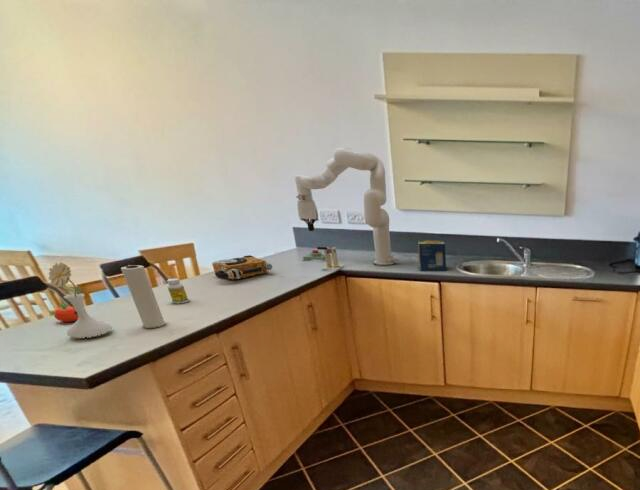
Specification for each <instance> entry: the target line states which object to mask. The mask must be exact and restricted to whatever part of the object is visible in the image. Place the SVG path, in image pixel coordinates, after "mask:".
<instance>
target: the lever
mask: <svg viewBox="0 0 640 490" xmlns="http://www.w3.org/2000/svg"><path fill="white" fill-rule="evenodd" d="M327 247H328V246H317V247H316V250H318V251H320V250H323V251H324V250H325V251H327V253H330V255H332V252H331V248H330V247H329V248H327Z"/></svg>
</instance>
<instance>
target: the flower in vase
mask: <svg viewBox="0 0 640 490" xmlns="http://www.w3.org/2000/svg"><path fill="white" fill-rule="evenodd" d="M48 270H49V272H48V275H49V276H48V280H49V281H50V284H51V285H52V286H53V287H54V286H56V288H62V289H64V290H66V291H69V292H72V294H67V295H64V296H63V298H64V299H65V300H67V301H68V302H69V303H70V304H71V305H72V307H74V308H75V309H76V311H77V314H78V320H76V321H74V323H72V325H71V326H70V327H69V329H68V330H67V332H66V335H67V336H68V337H70V338H73V339H88V338H95V337H99V336H103V335H106V334H107V333H109V332H111V331H112V330H113V326H112V325H111V324H110V323H108V322H106V321H103V320H100V319H97V318H94V317H93V316H90V315H89V313H88V312H87V310H86V307H85V305H84V297H85V293H84V291H83V290H82V288H81V287H80V286H79V285H78V286H76V285H75V283H74V282H73V281H72V280H71V277H72V273H71V267H70V266H69V265H68V264H66V263H64V262H62V261H60V262H59V263H57V262H55V263H54V264H53V265H52V267H50V268H48ZM69 282H70V283H71V284H72V286H73V287H74V288H73V287H70V286H68V285H66V284H68V283H69ZM101 334H102V335H101ZM97 335H98V336H97ZM92 336H93V337H92ZM85 337H87V338H85Z"/></svg>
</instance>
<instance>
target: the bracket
mask: <svg viewBox="0 0 640 490" xmlns="http://www.w3.org/2000/svg"><path fill="white" fill-rule="evenodd" d="M326 247H327V248H329V249H331V252H332V254H330V253H327V251H325V250H323V252H324V254H325V264H326V266H324V267H322V270H338V269H340V268H342V267H344V265H343V264H339V260H338V259H339V258H338V255H337V254H338V252H337V248H336V246H334V247H331V248H330V247H329V246H326ZM331 258H332V259H331Z"/></svg>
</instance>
